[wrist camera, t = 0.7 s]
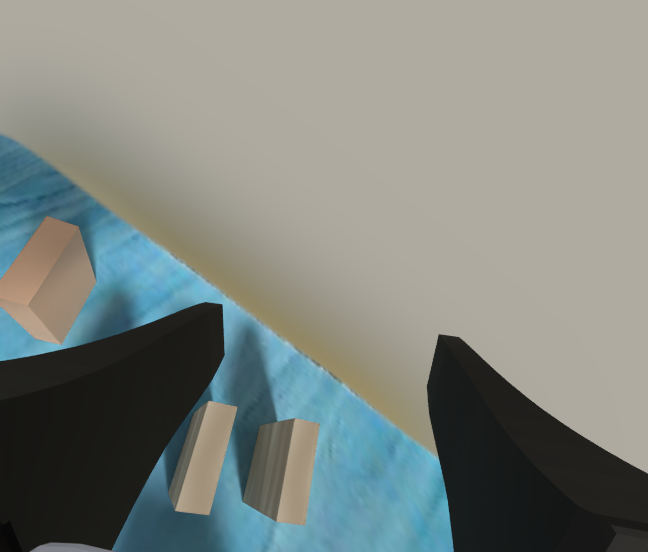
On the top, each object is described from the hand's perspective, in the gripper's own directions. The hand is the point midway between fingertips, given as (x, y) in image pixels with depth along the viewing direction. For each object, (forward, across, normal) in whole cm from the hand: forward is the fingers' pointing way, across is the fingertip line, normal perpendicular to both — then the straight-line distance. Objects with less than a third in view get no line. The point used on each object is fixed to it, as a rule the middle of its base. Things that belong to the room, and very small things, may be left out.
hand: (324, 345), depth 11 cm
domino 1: (+9, +20, +6) cm, 23 cm away
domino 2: (+7, +9, +15) cm, 19 cm away
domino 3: (+8, +5, +16) cm, 19 cm away
